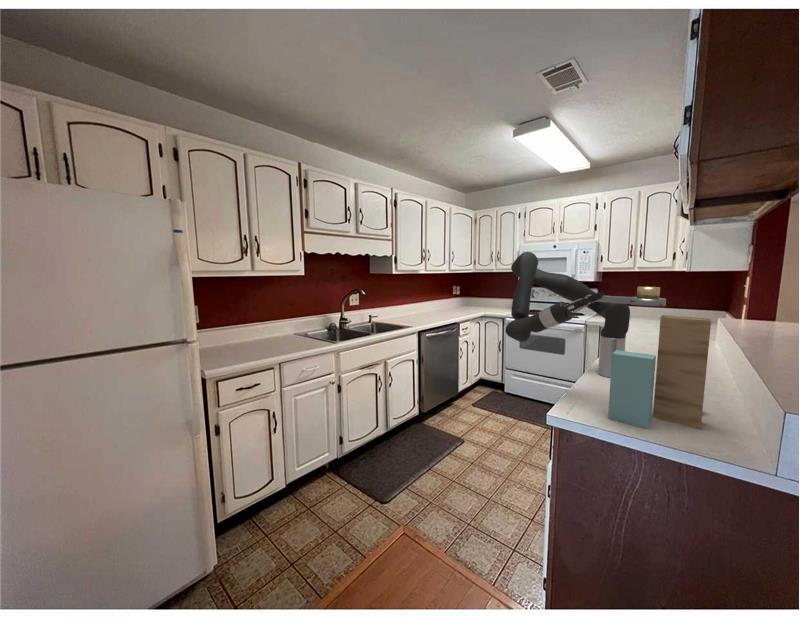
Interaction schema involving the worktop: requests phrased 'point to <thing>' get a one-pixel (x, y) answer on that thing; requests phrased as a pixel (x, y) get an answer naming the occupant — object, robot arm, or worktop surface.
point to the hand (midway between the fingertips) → (601, 294)
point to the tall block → (631, 388)
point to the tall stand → (681, 369)
